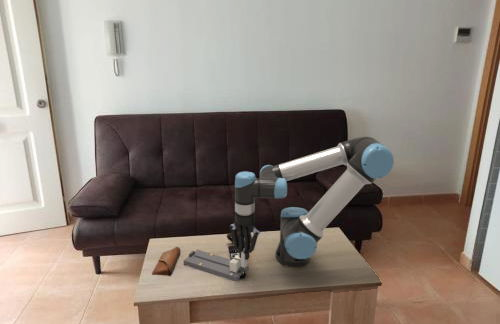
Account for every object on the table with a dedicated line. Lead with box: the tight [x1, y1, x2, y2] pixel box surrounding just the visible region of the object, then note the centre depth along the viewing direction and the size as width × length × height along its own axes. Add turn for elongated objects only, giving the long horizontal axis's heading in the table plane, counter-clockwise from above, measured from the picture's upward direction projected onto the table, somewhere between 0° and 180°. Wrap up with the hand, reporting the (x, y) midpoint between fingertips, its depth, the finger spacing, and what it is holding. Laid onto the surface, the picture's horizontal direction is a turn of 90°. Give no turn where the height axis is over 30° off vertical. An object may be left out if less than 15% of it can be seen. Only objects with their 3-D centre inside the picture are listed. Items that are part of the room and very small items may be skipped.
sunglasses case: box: [151, 246, 181, 276], centre depth 157 cm, size 18×7×7 cm
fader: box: [230, 254, 241, 272], centre depth 149 cm, size 3×6×4 cm, turn 153°
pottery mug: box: [226, 232, 253, 247], centre depth 172 cm, size 12×10×8 cm
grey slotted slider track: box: [183, 249, 250, 283], centre depth 155 cm, size 26×10×3 cm, turn 63°
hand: (244, 265), depth 148 cm, fingers closed
